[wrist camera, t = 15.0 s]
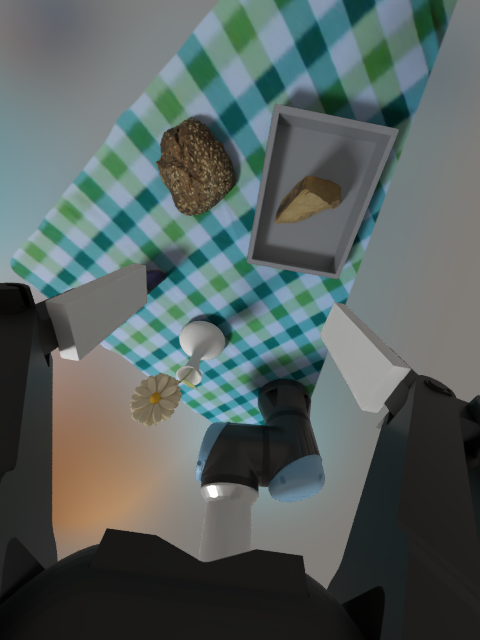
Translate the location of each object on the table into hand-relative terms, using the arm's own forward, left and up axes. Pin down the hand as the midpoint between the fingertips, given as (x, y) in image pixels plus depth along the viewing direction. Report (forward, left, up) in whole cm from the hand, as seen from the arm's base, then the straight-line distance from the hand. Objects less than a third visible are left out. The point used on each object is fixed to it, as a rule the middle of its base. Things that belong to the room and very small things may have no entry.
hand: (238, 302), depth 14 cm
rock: (+8, -9, -29) cm, 32 cm away
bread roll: (+10, +11, -30) cm, 34 cm away
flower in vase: (-24, +8, -30) cm, 39 cm away
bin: (+8, -9, -30) cm, 32 cm away
